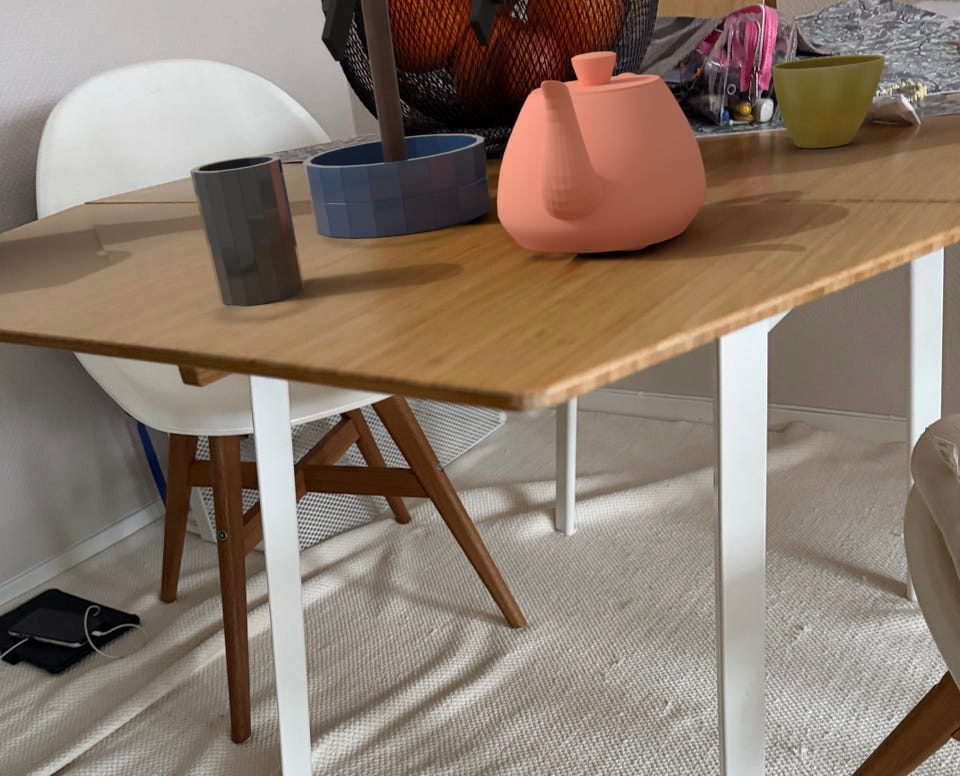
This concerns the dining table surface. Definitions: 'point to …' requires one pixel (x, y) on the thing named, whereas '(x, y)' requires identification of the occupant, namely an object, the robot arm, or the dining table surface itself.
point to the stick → (384, 79)
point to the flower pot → (826, 97)
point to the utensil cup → (249, 230)
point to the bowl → (398, 187)
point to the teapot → (600, 163)
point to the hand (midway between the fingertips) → (403, 42)
